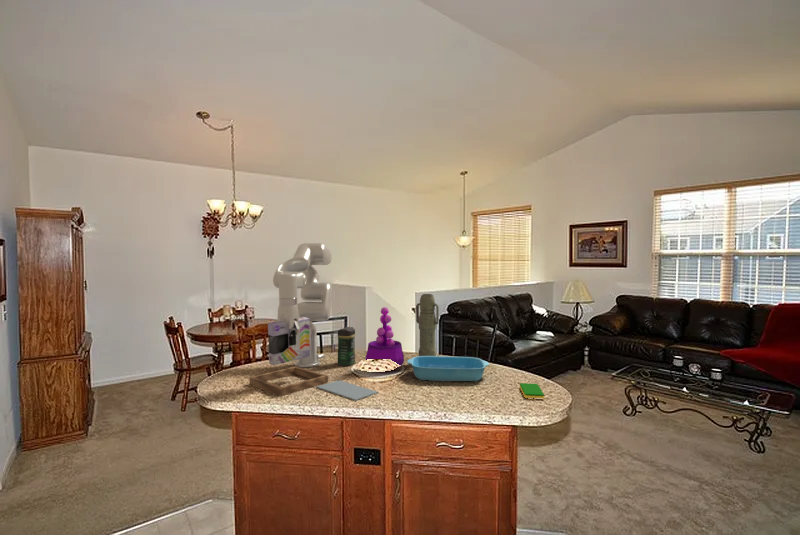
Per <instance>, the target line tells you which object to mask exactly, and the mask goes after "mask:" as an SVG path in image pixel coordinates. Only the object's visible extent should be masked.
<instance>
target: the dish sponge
mask: <svg viewBox="0 0 800 535" xmlns="http://www.w3.org/2000/svg"><path fill="white" fill-rule="evenodd" d="M520 389H521V390H520ZM519 390H520V391H522V392H521V393H523V394H522V395H524V396H523V398H524V397H525V398H543V399H544V400H545V394H544V392H543V390H542V389H541V387H540V386H539V384H538V383H525V382H524V383H522V382H521V383H519ZM525 398H524V399H525Z"/></svg>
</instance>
